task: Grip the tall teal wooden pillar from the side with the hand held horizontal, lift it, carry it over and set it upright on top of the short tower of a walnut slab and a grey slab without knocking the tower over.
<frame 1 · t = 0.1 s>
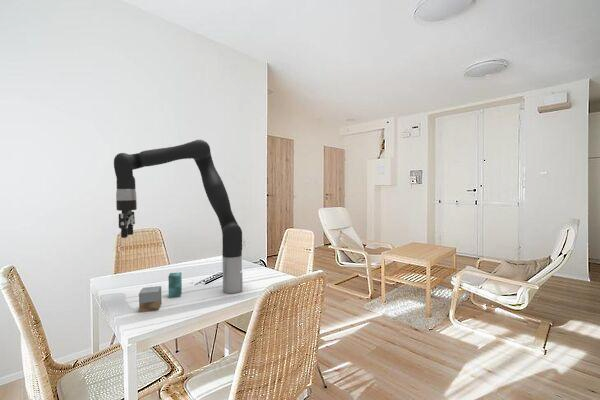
hand: (127, 236, 122), 29 cm above the table, tool pointing down, fingers open, 8 cm apart
walnut slab: (150, 308, 116), on the table, touching grey slab
teal pillar: (175, 295, 129), on the table
grey slab: (150, 299, 115), point 4 cm above the table, touching walnut slab
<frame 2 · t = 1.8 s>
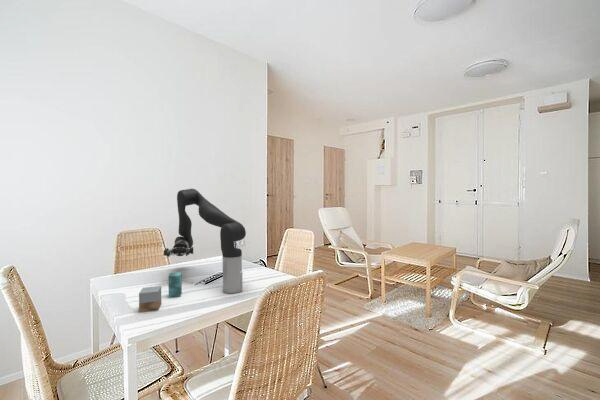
hand: (177, 254, 140), 17 cm above the table, tool horizontal, fingers open, 8 cm apart
nothing on the table moved.
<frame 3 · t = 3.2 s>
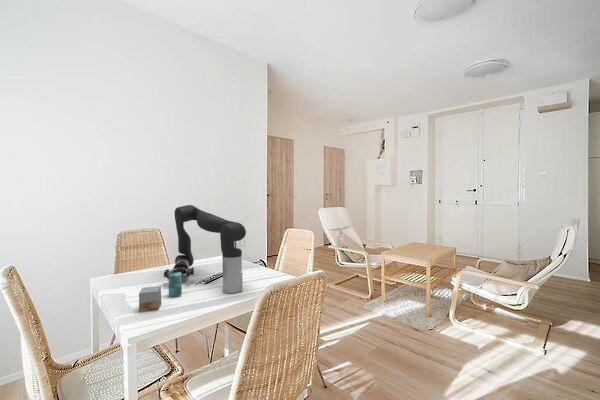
hand: (177, 276, 139), 6 cm above the table, tool horizontal, fingers open, 8 cm apart
nothing on the table moved.
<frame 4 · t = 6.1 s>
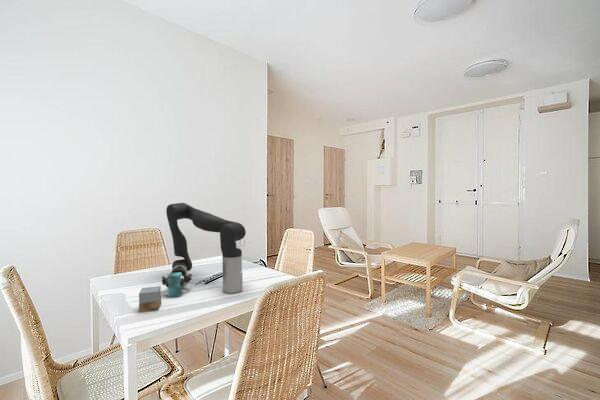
hand: (174, 284, 127), 6 cm above the table, tool horizontal, fingers closed on teal pillar, 5 cm apart
teal pillar: (175, 295, 129), on the table, touching gripper
everything else where it was.
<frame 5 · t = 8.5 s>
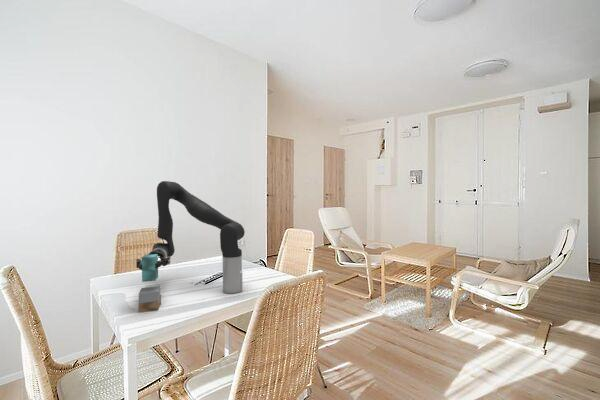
hand: (148, 266, 113), 18 cm above the table, tool horizontal, fingers closed on teal pillar, 5 cm apart
teal pillar: (150, 279, 116), point 12 cm above the table, touching gripper
everything else where it was.
when the fingers open (15 cm above the table, at t = 9.5 s): teal pillar drops 2 cm, resting on grey slab.
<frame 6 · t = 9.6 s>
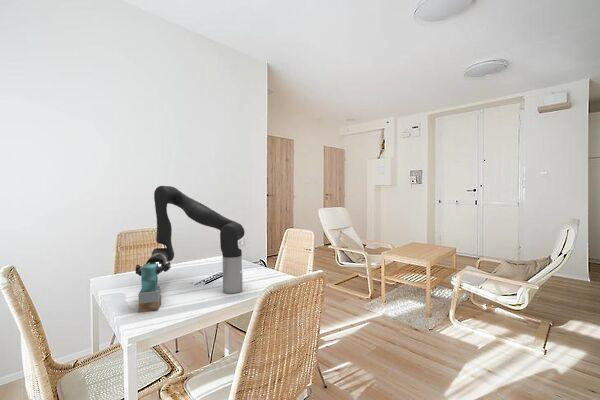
hand: (148, 272, 113), 15 cm above the table, tool horizontal, fingers open, 5 cm apart
teal pillar: (149, 289, 115), point 8 cm above the table, touching grey slab
grey slab: (149, 299, 115), point 4 cm above the table, touching teal pillar, walnut slab
everything else where it was.
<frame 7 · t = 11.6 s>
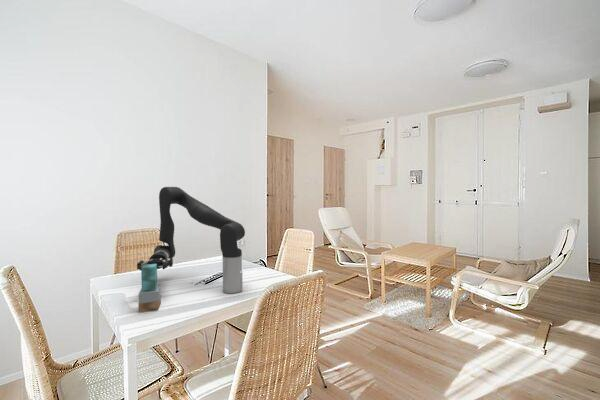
hand: (152, 267, 120), 15 cm above the table, tool horizontal, fingers open, 8 cm apart
nothing on the table moved.
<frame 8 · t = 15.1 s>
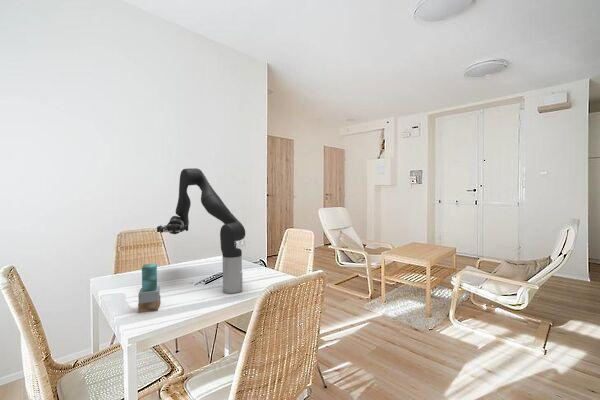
hand: (171, 230, 133), 30 cm above the table, tool horizontal, fingers open, 8 cm apart
nothing on the table moved.
at the end: teal pillar 0.5 cm off-centre on the grey slab, point 4.0 cm above the grey slab's base; grey slab 0.1 cm off-centre on the walnut slab, point 4.0 cm above the walnut slab's base; teal pillar tilted 0° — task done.
